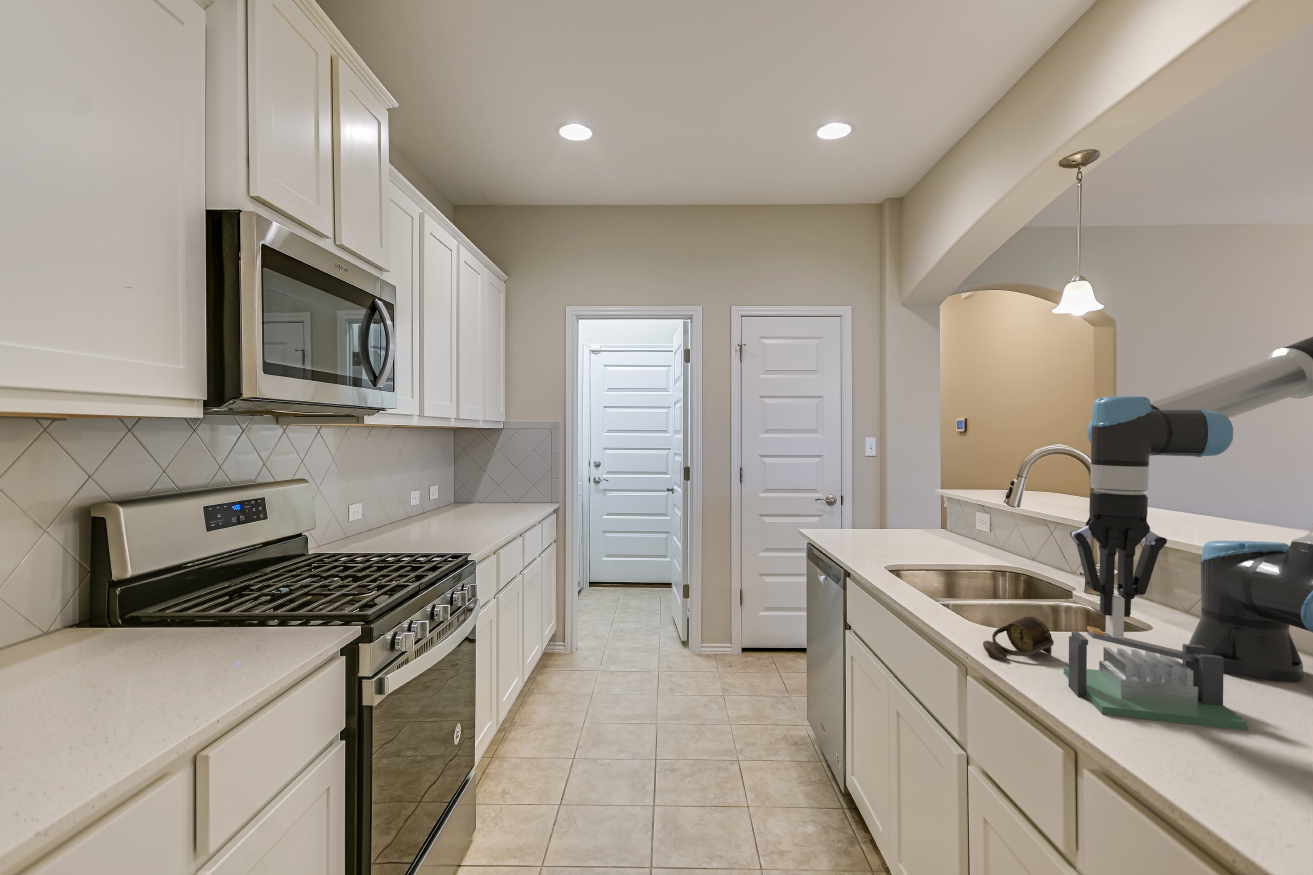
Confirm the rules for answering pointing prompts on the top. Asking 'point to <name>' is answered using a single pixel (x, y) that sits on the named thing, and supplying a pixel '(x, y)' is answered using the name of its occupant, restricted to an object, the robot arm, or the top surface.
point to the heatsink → (1148, 677)
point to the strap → (1143, 645)
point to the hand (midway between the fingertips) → (1114, 635)
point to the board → (1157, 707)
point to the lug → (1078, 663)
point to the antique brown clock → (1021, 638)
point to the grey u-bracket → (1206, 675)
